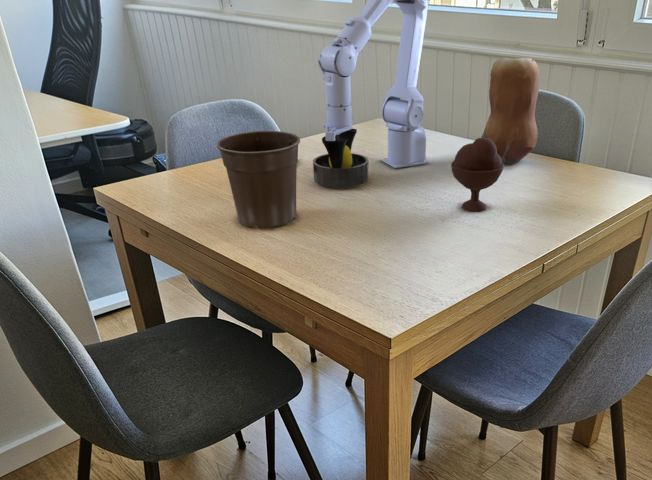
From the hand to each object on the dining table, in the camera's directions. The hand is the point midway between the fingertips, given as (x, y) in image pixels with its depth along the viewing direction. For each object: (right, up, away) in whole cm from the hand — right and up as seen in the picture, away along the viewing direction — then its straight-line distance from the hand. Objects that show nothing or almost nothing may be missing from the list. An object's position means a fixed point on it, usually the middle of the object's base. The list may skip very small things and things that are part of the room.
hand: (340, 164), depth 148 cm
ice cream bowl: (+30, -14, -13) cm, 35 cm away
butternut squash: (+43, +5, +15) cm, 46 cm away
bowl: (0, -3, +2) cm, 4 cm away
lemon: (0, -3, +2) cm, 3 cm away
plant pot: (-15, -17, -18) cm, 29 cm away
